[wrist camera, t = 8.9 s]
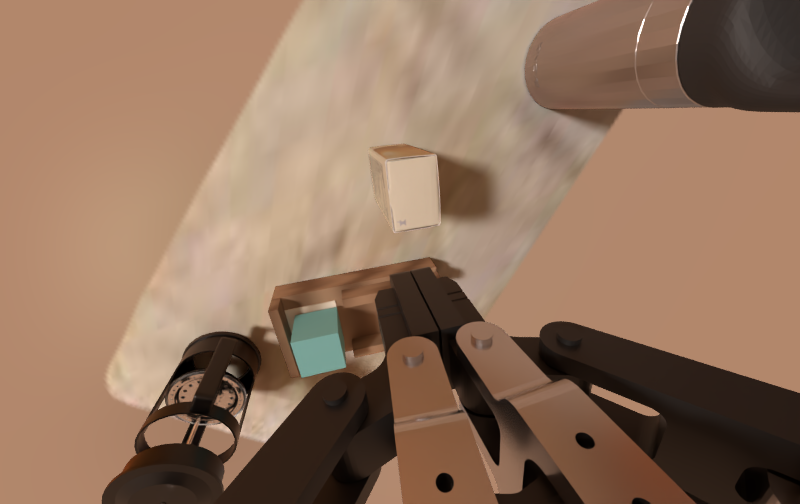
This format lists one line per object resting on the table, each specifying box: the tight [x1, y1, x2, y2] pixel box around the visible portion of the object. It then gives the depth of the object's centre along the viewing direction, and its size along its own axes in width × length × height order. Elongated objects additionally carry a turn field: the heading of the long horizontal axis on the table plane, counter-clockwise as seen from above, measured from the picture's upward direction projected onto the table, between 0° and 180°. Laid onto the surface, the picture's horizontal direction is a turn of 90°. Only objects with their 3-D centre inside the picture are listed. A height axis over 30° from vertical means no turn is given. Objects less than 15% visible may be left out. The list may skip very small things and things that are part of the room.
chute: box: [268, 257, 440, 378], centre depth 40 cm, size 20×10×6 cm, turn 96°
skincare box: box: [369, 144, 441, 233], centre depth 31 cm, size 6×4×12 cm
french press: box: [102, 332, 261, 504], centre depth 32 cm, size 12×9×23 cm
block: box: [290, 307, 346, 378], centre depth 37 cm, size 5×5×5 cm
